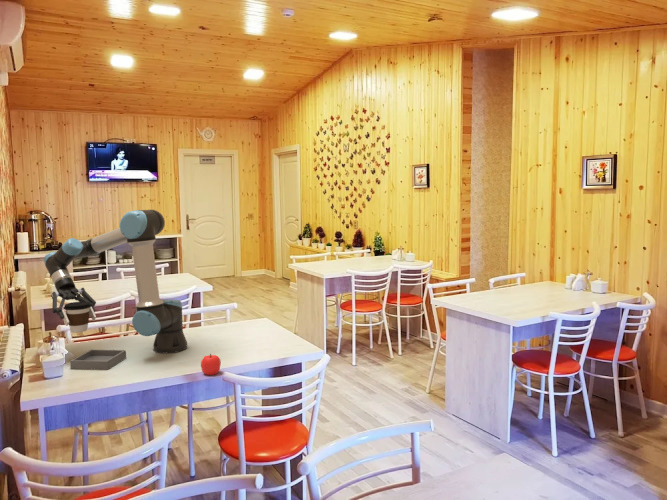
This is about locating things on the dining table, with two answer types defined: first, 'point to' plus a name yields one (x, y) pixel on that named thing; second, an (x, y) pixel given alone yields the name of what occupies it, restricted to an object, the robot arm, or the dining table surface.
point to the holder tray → (98, 359)
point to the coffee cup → (78, 316)
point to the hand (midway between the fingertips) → (81, 321)
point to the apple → (210, 364)
